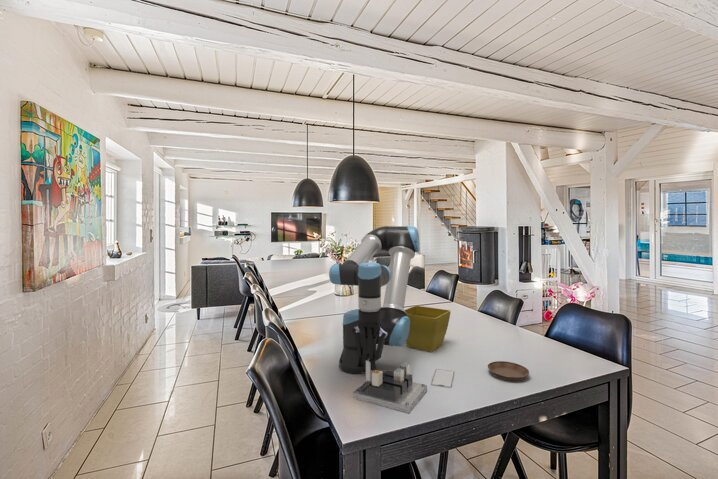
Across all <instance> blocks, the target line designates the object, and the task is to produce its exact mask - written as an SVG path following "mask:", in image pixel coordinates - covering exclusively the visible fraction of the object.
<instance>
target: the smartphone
mask: <svg viewBox="0 0 718 479" xmlns="http://www.w3.org/2000/svg"><path fill="white" fill-rule="evenodd" d="M454 376H455V371H454V370H448V369H440V368H437V369H435V371H434V373H433V376H432V379H431V383H430V385H431V386H435V387H440V388H447V389H448V388H449V389H451V388H452V387H453V383H454Z"/></svg>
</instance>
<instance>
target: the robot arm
mask: <svg viewBox="0 0 718 479" xmlns="http://www.w3.org/2000/svg"><path fill="white" fill-rule="evenodd" d="M420 244H421V243H420V234H419V230H418V228H417V227H416V226H410V225H409V226H408V225H405V226H403V225H402V226H397V225H394V226H393V225H389V226H388V225H386V226H385V225H384V226H380V227H377V228H375V229H374V228H373V229H372V230H371V231H369V232H367V233H366V234H365V235H364V236H363V237H362V239H361V241H360V244H359V245H358V246H357V247H355V249H354V250H353V252H352V253H351V254H350V255H349V256H348V257H347V258H346V259H345V260H344V262H342V264H341V263H335V264H334V263H333V264H332V265H331V266H330V268H329V272H328V275H329V282H330V283H331V284H333V285H340V286H357V287H358V288H357V289H358V293H357V294H358V295H357V296H358V306H357V307H358V308H356V309H353V310H352V309H351V310H349V311H348V310H347V311H346V312H344V314H343V316H342V317H343V318H342V350H341V353H340V356H339V357H340V358H339V360H338V368H339V369H340V370H341V371H342V372H344V373H349V374H356V375H357V374H365V381H370V380H372V373H373V372H374V371H375V370H377V369H376V368H377V362H376V361H379V360H380V359H381V358H382V357H383V356H382V355H383V351H384V347H385V346H390V347H403V346H404V345H405V344H406V340H407V338H408V335H409V330H410V319H409V317H407V313H406V312H405V310H406V309H405V302H406V295H407V289H408V282H409V274H410V267H411V266H410V265H411V261H412V259H413V258H415V255H416V253H419V252H420V250H421V246H420ZM380 252H388V254H389V255H390V261H389V267H388V266H386V265H384V264H380V263H378V262H370V261H371V259H372V258H373V257H374V255H378V254H379V253H380ZM384 286H386V287H385V291H384V298H383V303H382V300H381V299H382V290H381V289H382V287H384Z"/></svg>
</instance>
